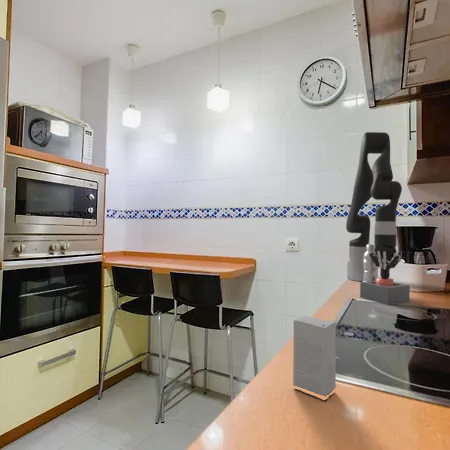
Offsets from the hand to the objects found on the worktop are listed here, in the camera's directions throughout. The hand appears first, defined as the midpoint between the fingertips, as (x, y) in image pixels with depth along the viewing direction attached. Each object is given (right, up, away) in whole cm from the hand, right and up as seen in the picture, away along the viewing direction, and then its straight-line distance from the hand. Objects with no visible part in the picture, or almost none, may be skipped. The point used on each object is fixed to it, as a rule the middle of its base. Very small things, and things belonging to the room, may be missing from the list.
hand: (384, 278), depth 120 cm
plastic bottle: (0, -8, +12) cm, 15 cm away
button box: (0, -8, 0) cm, 8 cm away
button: (0, -5, 0) cm, 5 cm away
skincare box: (-46, -8, -66) cm, 81 cm away
